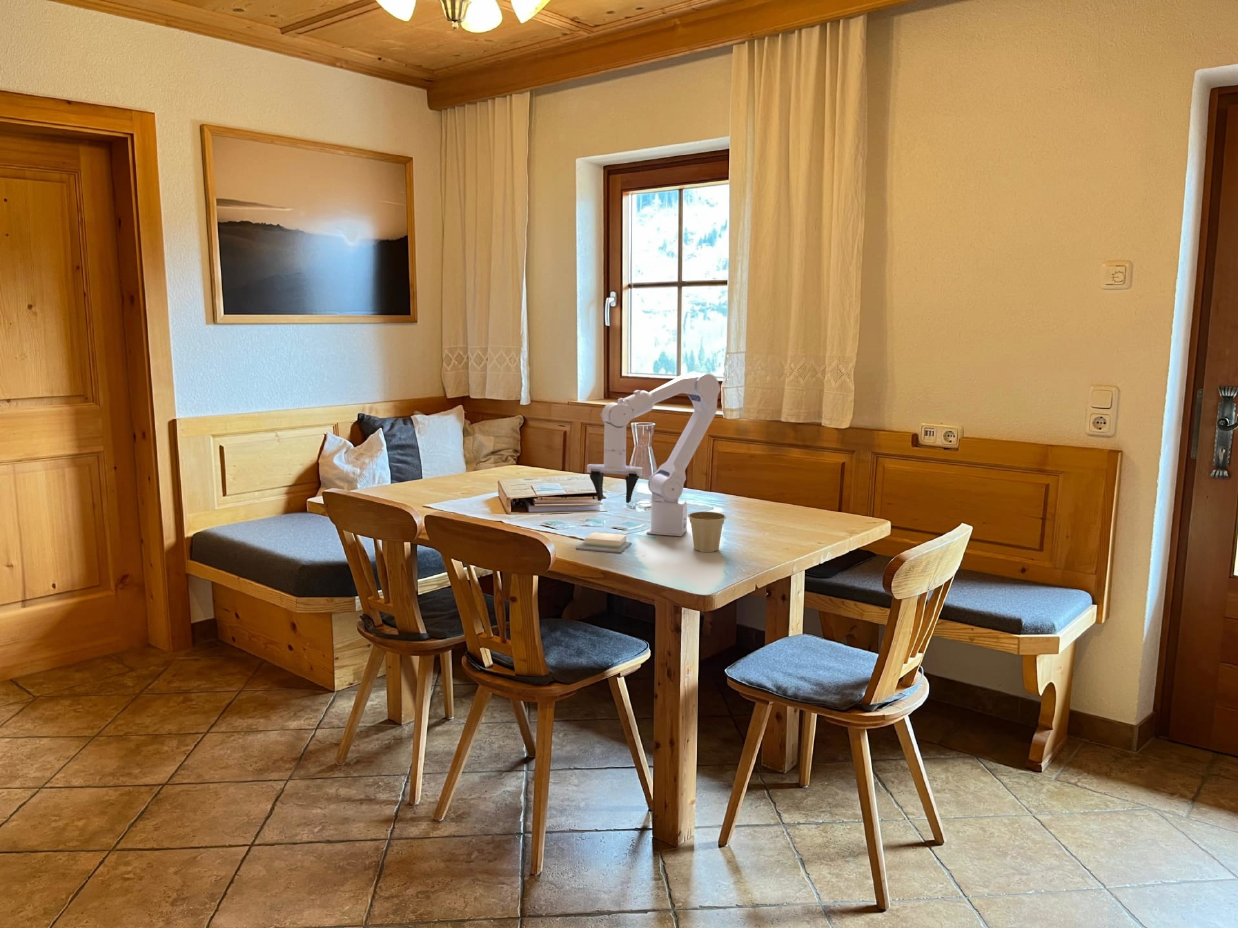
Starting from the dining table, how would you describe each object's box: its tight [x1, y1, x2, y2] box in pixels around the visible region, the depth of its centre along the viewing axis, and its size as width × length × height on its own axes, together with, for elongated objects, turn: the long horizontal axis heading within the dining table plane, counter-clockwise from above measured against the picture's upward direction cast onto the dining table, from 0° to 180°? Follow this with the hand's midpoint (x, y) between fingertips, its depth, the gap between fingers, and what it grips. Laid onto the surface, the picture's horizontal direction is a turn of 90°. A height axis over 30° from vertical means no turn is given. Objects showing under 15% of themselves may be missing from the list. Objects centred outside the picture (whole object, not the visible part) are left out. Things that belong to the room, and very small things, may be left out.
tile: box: [584, 531, 627, 547], centre depth 235 cm, size 9×2×6 cm
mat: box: [575, 541, 632, 554], centre depth 233 cm, size 12×10×1 cm
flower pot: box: [687, 511, 727, 553], centre depth 231 cm, size 9×9×9 cm
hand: (614, 501), depth 242 cm, fingers open, 7 cm apart
